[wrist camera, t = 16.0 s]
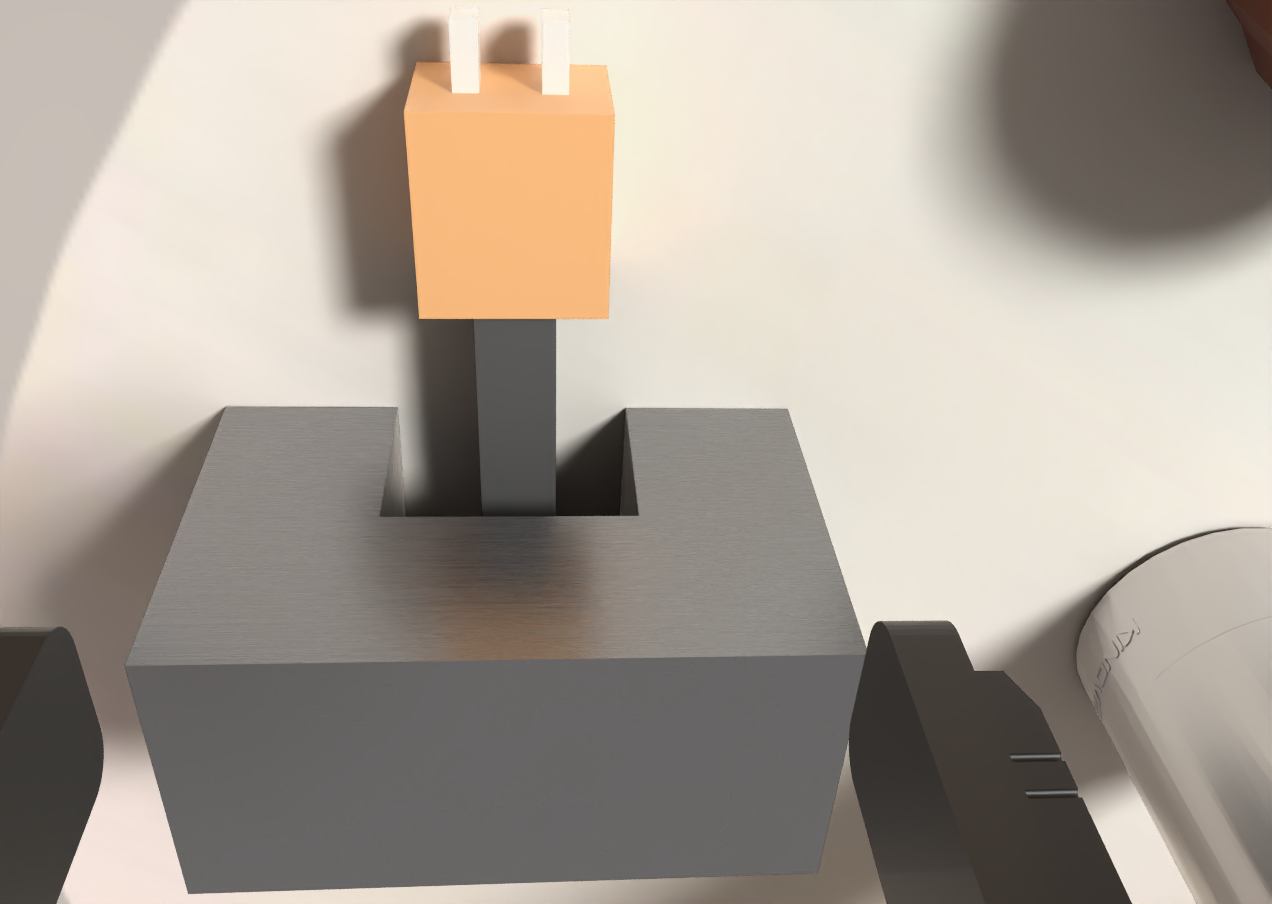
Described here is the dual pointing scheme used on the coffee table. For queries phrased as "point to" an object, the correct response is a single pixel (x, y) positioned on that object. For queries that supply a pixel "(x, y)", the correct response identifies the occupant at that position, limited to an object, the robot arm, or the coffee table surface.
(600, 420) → the coffee table surface
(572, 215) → the plug
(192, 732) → the bridge-shaped block
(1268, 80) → the muffin
